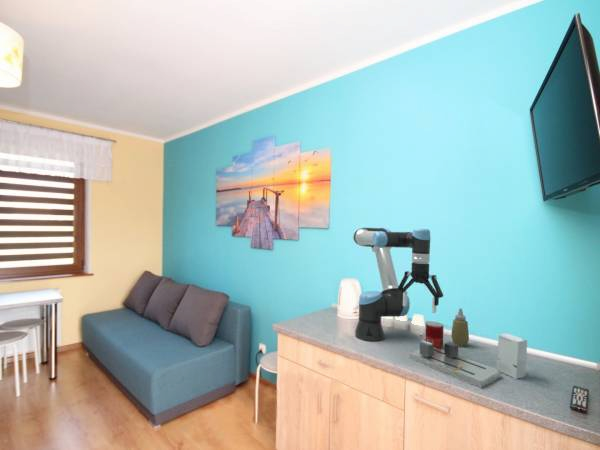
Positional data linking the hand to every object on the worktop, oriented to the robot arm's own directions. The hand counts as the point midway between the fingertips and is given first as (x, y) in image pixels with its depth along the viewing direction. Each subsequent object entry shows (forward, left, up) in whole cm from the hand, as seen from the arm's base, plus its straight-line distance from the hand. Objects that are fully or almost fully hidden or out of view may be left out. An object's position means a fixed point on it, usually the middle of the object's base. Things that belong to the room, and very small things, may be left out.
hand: (418, 309), depth 139 cm
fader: (+6, -3, -18) cm, 19 cm away
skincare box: (+31, +17, -21) cm, 41 cm away
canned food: (-3, +18, -21) cm, 28 cm away
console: (+15, +2, -21) cm, 26 cm away
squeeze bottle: (+3, +31, -21) cm, 37 cm away
